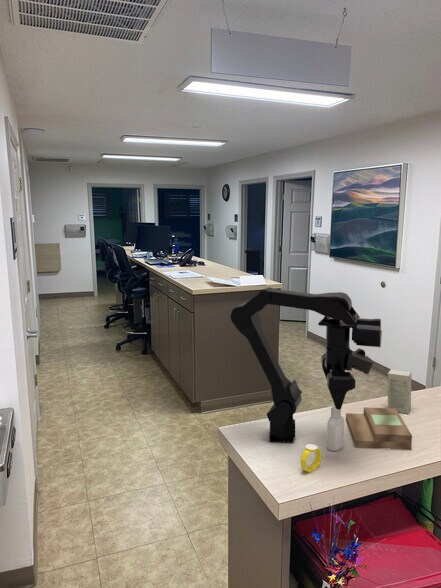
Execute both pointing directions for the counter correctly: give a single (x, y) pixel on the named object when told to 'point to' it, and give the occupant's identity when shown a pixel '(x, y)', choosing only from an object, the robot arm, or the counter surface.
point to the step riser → (379, 429)
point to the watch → (305, 454)
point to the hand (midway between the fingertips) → (336, 401)
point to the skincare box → (399, 390)
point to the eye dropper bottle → (335, 430)
